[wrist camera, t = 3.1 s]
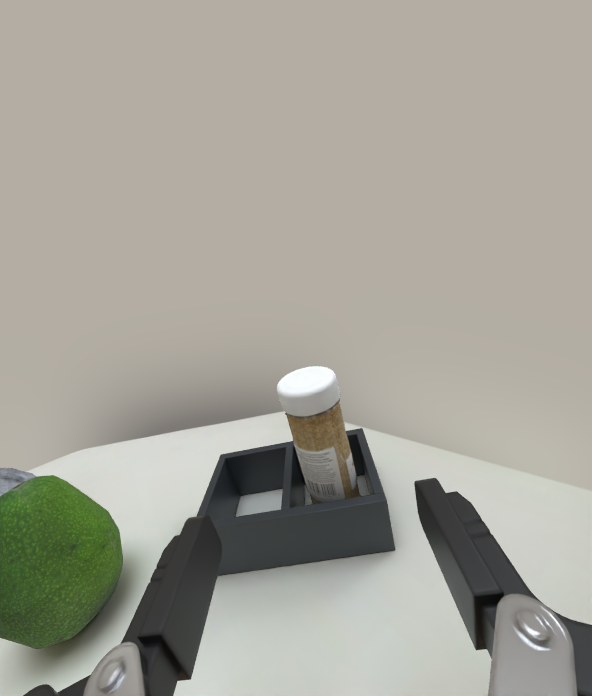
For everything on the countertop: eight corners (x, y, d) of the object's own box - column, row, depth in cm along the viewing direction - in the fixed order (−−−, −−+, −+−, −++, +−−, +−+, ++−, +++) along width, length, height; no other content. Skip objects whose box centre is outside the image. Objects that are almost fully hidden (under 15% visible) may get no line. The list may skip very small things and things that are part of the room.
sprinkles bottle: (373, 502, 25) (347, 367, 21) (345, 545, 22) (307, 399, 18) (332, 481, 28) (303, 361, 24) (303, 516, 25) (263, 387, 21)
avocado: (157, 546, 26) (97, 442, 22) (105, 664, 19) (2, 538, 15) (76, 564, 26) (3, 464, 22) (-7, 686, 19) (-136, 568, 15)
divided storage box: (369, 468, 29) (362, 427, 27) (395, 550, 21) (386, 500, 19) (235, 491, 30) (220, 454, 28) (212, 576, 22) (189, 532, 21)
